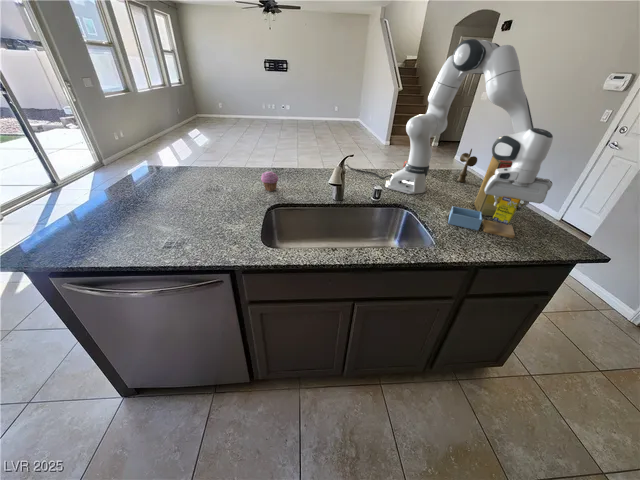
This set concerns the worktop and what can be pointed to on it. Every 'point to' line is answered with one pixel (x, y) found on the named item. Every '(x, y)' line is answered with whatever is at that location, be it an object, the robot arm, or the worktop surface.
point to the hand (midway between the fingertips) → (506, 208)
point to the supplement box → (506, 209)
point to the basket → (465, 218)
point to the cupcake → (269, 180)
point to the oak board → (498, 229)
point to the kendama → (466, 165)
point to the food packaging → (484, 200)
